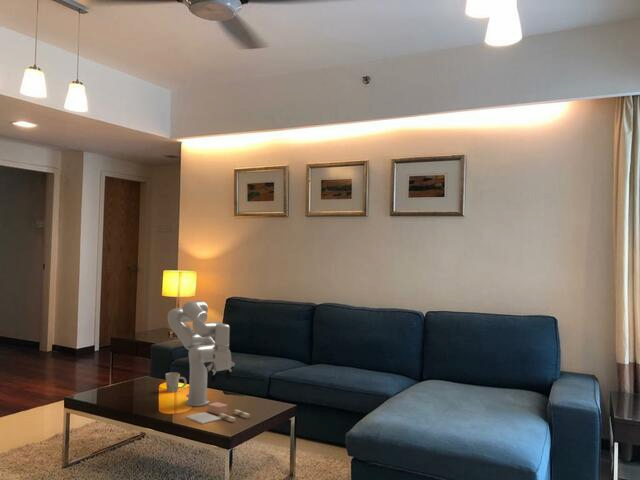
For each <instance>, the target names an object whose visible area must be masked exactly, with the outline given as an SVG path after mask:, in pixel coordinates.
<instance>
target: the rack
mask: <svg viewBox="0 0 640 480" xmlns="http://www.w3.org/2000/svg"><path fill="white" fill-rule="evenodd" d="M233 414H234V415H235V416H239V417H241V418H244V419H247V420H248V419H250V418H251V414H250V413H247V412H245V411H243V410H239V409H233ZM218 417H219V418H221V420H222V419H223V420H225V421H228V422H231V423H232V424H233V423H236V421H237V420H236V417H234V416H231V415H229V414H226V413H220V414H219V416H218Z"/></svg>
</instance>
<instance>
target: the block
mask: <svg viewBox="0 0 640 480" xmlns="http://www.w3.org/2000/svg"><path fill="white" fill-rule="evenodd" d="M207 405H208V406H207V407H208V408H207V413H210V414H213V415H219V414H220V413H224V414H226V413H228V404H227V403H226V404H225V403H222V402H218V401H216V402H212V403H209V404H207Z"/></svg>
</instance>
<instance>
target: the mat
mask: <svg viewBox="0 0 640 480" xmlns="http://www.w3.org/2000/svg"><path fill="white" fill-rule="evenodd" d="M185 418H186V419H188V420H191V421H194V422H196V423H199V424H201V425H204V424H205V425H206V424H209V423H213V422H217V421H221V420H222V418H219V416H217V415H215V414H212V413H210V412H207V411H206V412H205V411H203V412H199V413H194V414H191V415H187V416H185Z"/></svg>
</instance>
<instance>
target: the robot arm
mask: <svg viewBox="0 0 640 480" xmlns="http://www.w3.org/2000/svg"><path fill="white" fill-rule="evenodd" d="M208 312H209V306H208V303H206V301H203V300H193V301H186V302H185V303H184V304H183V305H182V307H175V308H173V309H170V310H169V311H168V313H167V323H168V326H169V328H170V329H171V331H172V332H174V334H175V335H176V336H177V338H179V340H180V342H181V344H182V345H183V346H184V348H185V349H186V350H188V359H189V360H188V361H189V381H188V382H189V386H188V387H189V388H188V394H186V396H185V397H187V400H186V401H185V404H186V406H188V407H202V406H203V407H204V406H207V405H208V404H210V400H209V399H207V393H208V373H209V375H210V383H213V384H215V383H216V373H217V372H220V371H223V372H224V371H225V380H228V381H230V380H231V375H232V374H231V373H232V370H234V367H235V365H236V364H235V362H234V361H232V352H231V350H230V328H231V327H230V325H229V324H227V323H223V322H220V321H214V322H212V321H211V322H206V321H207V320H208ZM191 322H192V328H193V329H192V328H191V326H190V325H188V324H186V323H191ZM213 337H214V338H213ZM210 362H211V363H210ZM205 363H209V365H207V366H206V365H205Z"/></svg>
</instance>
